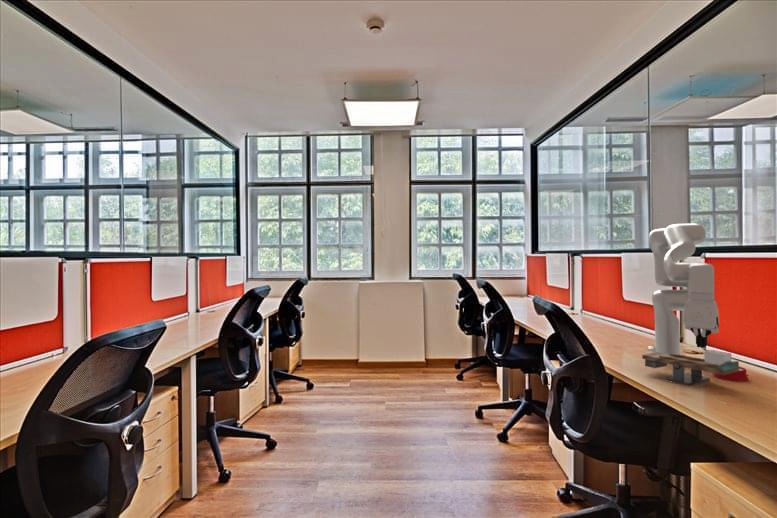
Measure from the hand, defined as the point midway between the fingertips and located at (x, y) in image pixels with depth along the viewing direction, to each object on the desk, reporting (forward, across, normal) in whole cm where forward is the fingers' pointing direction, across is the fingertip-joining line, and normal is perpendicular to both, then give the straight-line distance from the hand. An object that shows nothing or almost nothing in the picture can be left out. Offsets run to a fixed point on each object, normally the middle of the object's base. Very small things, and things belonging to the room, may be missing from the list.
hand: (701, 346), depth 155 cm
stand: (+13, -4, -1) cm, 14 cm away
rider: (+6, +6, -1) cm, 8 cm away
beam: (+10, -4, -1) cm, 11 cm away
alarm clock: (+14, +1, +18) cm, 23 cm away
